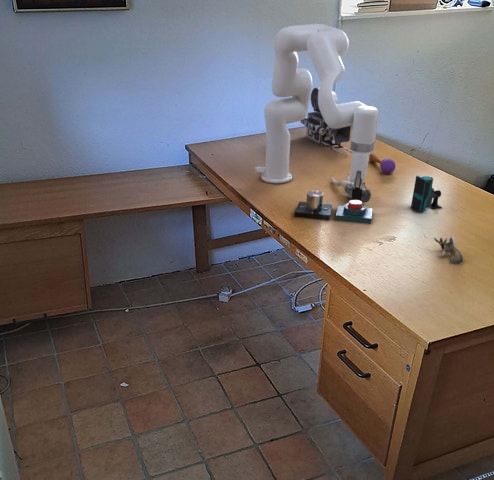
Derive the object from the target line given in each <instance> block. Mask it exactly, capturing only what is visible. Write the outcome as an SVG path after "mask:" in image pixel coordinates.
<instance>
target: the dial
mask: <svg viewBox="0 0 494 480" xmlns="http://www.w3.org/2000/svg"><path fill="white" fill-rule="evenodd" d="M305 202H306V209H308V210H310V211H319V210H321V209H322V203H323V202H324V192H322V191H320V190H317V189H315V190H308V191H307V192H306V201H305ZM323 204H324V203H323Z"/></svg>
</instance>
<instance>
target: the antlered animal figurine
mask: <svg viewBox="0 0 494 480" xmlns="http://www.w3.org/2000/svg"><path fill="white" fill-rule="evenodd" d="M433 240H434V241H435V242H436V243H438V244H439V246H440V248H441V250H442V252H441V255H440V256H439V257H440V258H442V257H444V256H446V254H450V262H451V263H452V264H454V265H459V264H461V263H462V262H463V259H464V257H463V255H462V253H461V251H459V249H458V248H457V247H455V246H456V238H455V237H454V236H453V235H450V237H449V239H448V238H446V237H445V239H444V240H443V237H440V238H439V240H438V239H437V238H436V237H433ZM447 241H449V242H447Z"/></svg>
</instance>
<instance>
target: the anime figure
mask: <svg viewBox="0 0 494 480" xmlns="http://www.w3.org/2000/svg"><path fill="white" fill-rule="evenodd" d="M329 180H330V181H331V183H332V184H334V185H335V186H336V187H340V186H342V187H343V189H344V191H342V190H341V189H340V190H338V193H339V194H341V195H343V196H345V197H348V198H349V199H351V198H352V189H353V186H354V181H353V182H350V173H346V180H345V179H344V180H341V179H340V180H336V179H335V178H334V176H333V173H331V174H329ZM371 196H372V193H371V189H368V188H367V186H366V182H365V181H364V183H362V196H361V200H360V201H361V202H362V204H364V203H368V202H369V201H370V199H371Z"/></svg>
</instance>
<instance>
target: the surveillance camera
mask: <svg viewBox="0 0 494 480" xmlns="http://www.w3.org/2000/svg"><path fill="white" fill-rule="evenodd" d="M414 181H415V182H414V187H413V194H412V198H411V204H410V208H411V209H412V210H413V211H415V212H417V213H418V214H421V213H423V212H425V211H426V209H429V208H430V209H432V210H437V209H442V207H443V206H440V205H439V204H438V202H439V198H440V197H441V196H442V190H440V189H436V190H435V188H434V187H433V183H434V177H431V176H428V175H427V176H420V175H416V176H415V180H414Z"/></svg>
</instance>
